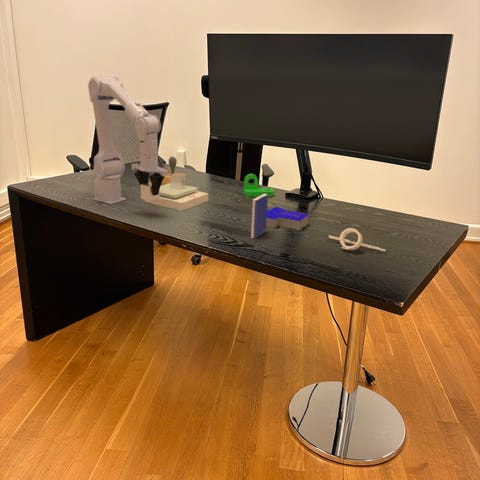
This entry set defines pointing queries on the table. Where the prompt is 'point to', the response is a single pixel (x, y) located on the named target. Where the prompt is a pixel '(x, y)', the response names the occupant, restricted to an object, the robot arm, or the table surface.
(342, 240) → the beige ring with bar
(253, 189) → the mechanical part
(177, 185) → the tan brown block
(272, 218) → the blue beige flat block
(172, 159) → the rubber stamp
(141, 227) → the table surface
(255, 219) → the hard drive
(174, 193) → the pan
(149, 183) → the tan brown block
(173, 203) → the scale housing
